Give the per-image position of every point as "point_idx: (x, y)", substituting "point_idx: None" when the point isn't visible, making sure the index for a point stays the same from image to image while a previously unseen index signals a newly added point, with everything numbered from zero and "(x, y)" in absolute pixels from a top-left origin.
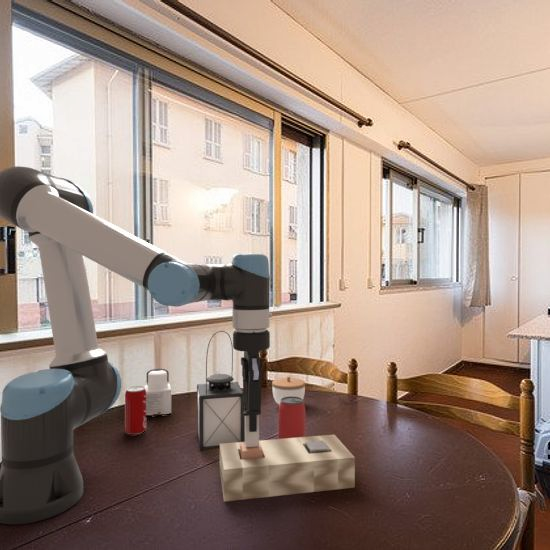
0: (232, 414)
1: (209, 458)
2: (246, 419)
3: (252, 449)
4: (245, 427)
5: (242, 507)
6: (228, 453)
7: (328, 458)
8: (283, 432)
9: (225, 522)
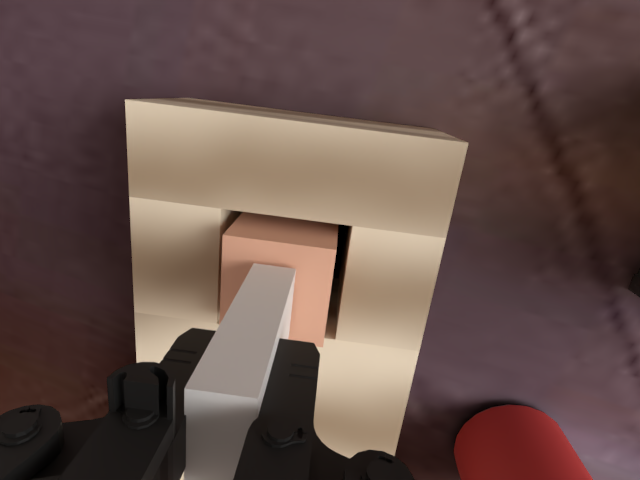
0: None
1: (591, 106)
2: (199, 366)
3: (232, 288)
4: (238, 322)
5: None
6: (314, 165)
7: None
8: (513, 474)
9: (57, 76)
